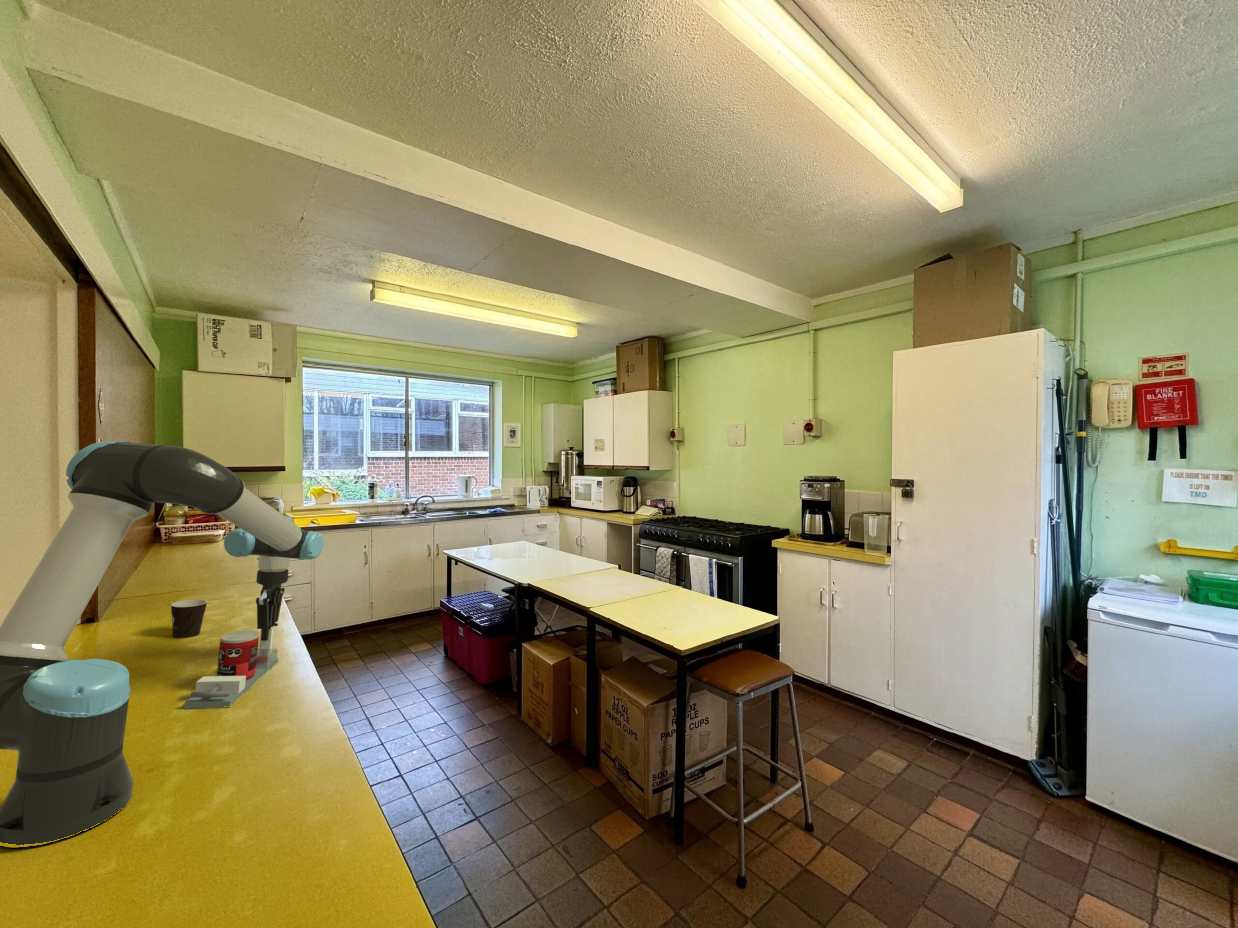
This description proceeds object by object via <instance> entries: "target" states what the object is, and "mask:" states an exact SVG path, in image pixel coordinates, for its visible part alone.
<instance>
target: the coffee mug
mask: <svg viewBox="0 0 1238 928" xmlns="http://www.w3.org/2000/svg"><path fill="white" fill-rule="evenodd" d="M207 604H208V601H207V600H206V599H199V598H198V599H195V598H194V599H184V600H179V601H175V602H173V603H171V604H170V607H171V608H170V609H171V611H170V612H171V624H172V625H171V626H172V637H173V638H174V639H187V638H193V637H194V638H195V637H197V636H199V635H200V633H201V629H202V624H203V620H204V617H205V611H206V608H207Z"/></svg>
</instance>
